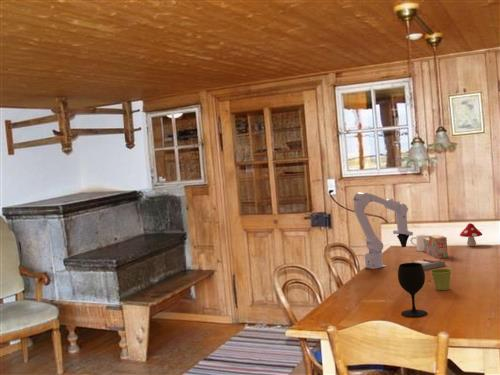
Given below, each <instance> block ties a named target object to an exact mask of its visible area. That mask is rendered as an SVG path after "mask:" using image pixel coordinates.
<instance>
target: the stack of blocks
mask: <svg viewBox="0 0 500 375" xmlns="http://www.w3.org/2000/svg"><path fill="white" fill-rule="evenodd" d="M424 248H425V251H424V253H425V254H427V255H430V256H432V257H433V258H435V259H443V258H448V242H447V237H446V236H444V235H441V234H429V238H424Z"/></svg>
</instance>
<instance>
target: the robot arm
mask: <svg viewBox="0 0 500 375" xmlns="http://www.w3.org/2000/svg"><path fill="white" fill-rule="evenodd" d="M372 202H374V203H376V204H380V205H383V207H384V208H385V209H388V210H390V211H393V212H395V214H396V215H395V216H396V226H397V230H396V229H395V230H393V231H392V234H394V235H396V238H397V239H398V240H399V243H400V246H401V247H402V248H406V247H407V242H408V239H409V237H410V236H411V237H413V236H414V232H413V231H410V230H409V228H408V217H407V216H408V215H407V213H408V211H409V208H408V205H407V204H406V203H401V202H400V201H396V200H394V199H393V198H392V197H391V198H387V199H385V198H382V197H380V196H378V195H375V194H373V193H368V192H357V193H355V194H354V197H353V212H354V214H355V216H356V219H357V220H358V223H359V225H360V227H361V229H362V231H363V233H364V236H365V242H366V248H367V249H368V252H367V253H365V256H364V261H365V263H364V264H365V266H364V268H367V269H370V270H371V269H372V270H376V269H379V268H380V269H381V268H384V267H387V265H385V264H384V263H383V252H382V251H383V249H384V243H383V242H382V241H381V240H380V239H379V237H378V236H377V235H376V233H375V231H374V229H373V227H372V225H371V223H370V221H369V219H368V216H367V214H366V212H365V209H366V207H367V206H368V205H369V204H370V203H372Z"/></svg>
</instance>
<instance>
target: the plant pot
mask: <svg viewBox="0 0 500 375" xmlns="http://www.w3.org/2000/svg"><path fill="white" fill-rule="evenodd" d="M429 272H430V273H431V276H432V279H433V283H434V288H435V290H436V291H448V290H449V289H450V287H451V286H450V284H451V274H452V272H453V271H452V269H450V268H433V269H430V271H429Z"/></svg>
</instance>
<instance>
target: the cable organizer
mask: <svg viewBox="0 0 500 375" xmlns="http://www.w3.org/2000/svg"><path fill="white" fill-rule="evenodd" d="M425 259H426V258H423V260H422V261H425ZM415 261H416V260H413V261H412V263H414V262H415ZM422 266H423V269H424V271H426V270H432V269H437V268H439V267H444V266H446V261H445V260H441V261H440V262H435V263H430V264H426V265H422Z"/></svg>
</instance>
